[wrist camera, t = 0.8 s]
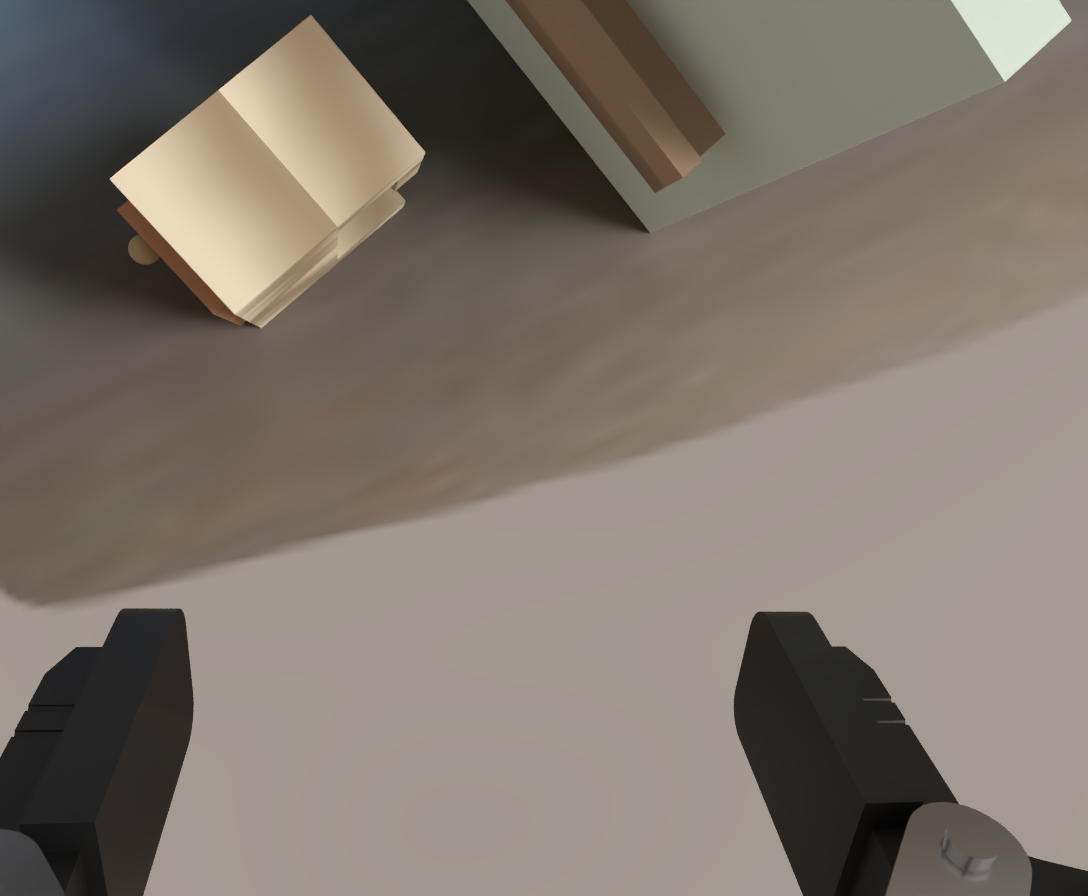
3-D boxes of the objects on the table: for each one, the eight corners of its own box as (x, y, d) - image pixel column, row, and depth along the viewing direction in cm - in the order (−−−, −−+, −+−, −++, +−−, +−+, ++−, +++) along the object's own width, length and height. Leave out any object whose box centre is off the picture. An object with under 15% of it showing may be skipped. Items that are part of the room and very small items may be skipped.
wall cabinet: (234, 351, 37) (198, 345, 27) (142, 252, 36) (70, 210, 26) (402, 207, 38) (425, 152, 28) (317, 107, 37) (311, 14, 27)
